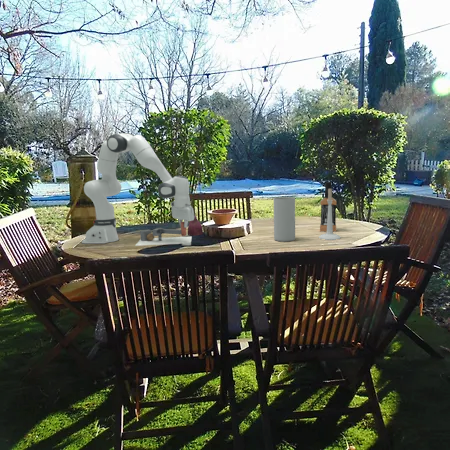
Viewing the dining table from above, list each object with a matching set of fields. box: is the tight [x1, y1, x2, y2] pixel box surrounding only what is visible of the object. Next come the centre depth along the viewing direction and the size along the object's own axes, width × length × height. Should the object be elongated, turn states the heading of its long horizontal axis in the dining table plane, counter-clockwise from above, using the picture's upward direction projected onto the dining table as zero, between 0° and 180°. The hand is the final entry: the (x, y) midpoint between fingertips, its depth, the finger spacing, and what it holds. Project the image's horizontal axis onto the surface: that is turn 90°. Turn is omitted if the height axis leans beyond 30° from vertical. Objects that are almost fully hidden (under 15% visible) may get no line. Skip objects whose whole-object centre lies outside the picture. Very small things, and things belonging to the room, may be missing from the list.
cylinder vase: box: [273, 196, 296, 243], centre depth 234 cm, size 12×12×25 cm
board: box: [135, 229, 193, 247], centre depth 238 cm, size 32×21×7 cm, turn 93°
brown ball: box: [147, 232, 155, 241], centre depth 240 cm, size 4×4×4 cm
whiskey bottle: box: [319, 181, 337, 232], centre depth 258 cm, size 10×10×32 cm
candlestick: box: [318, 188, 342, 241], centre depth 234 cm, size 13×13×30 cm
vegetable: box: [186, 214, 204, 236], centre depth 262 cm, size 10×10×15 cm
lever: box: [151, 221, 187, 237], centre depth 235 cm, size 20×7×8 cm, turn 66°
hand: (183, 226), depth 232 cm, fingers open, 3 cm apart
